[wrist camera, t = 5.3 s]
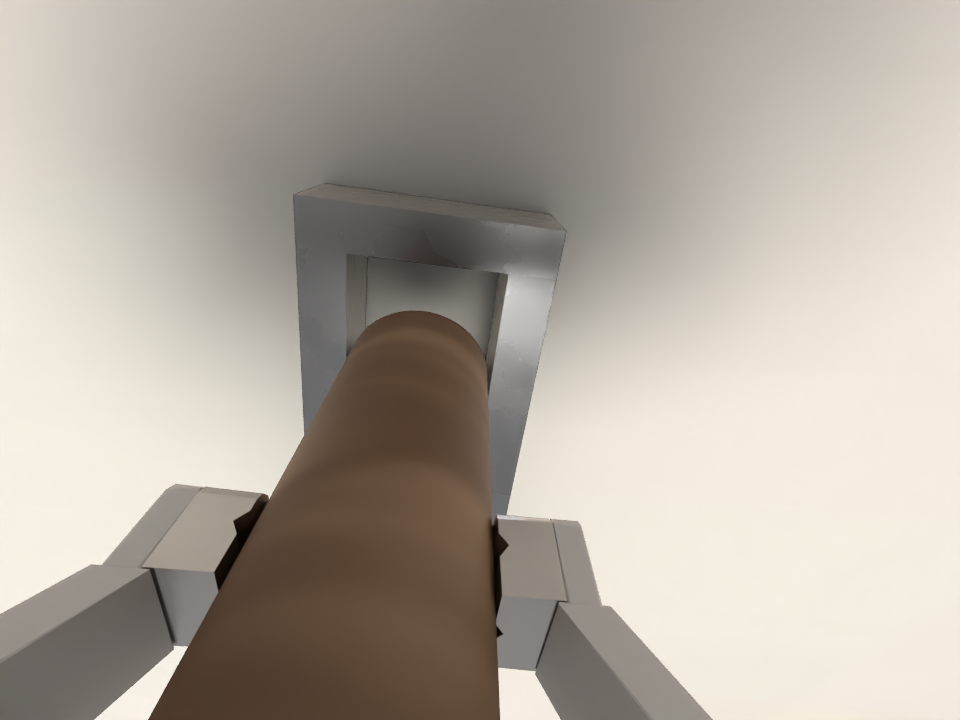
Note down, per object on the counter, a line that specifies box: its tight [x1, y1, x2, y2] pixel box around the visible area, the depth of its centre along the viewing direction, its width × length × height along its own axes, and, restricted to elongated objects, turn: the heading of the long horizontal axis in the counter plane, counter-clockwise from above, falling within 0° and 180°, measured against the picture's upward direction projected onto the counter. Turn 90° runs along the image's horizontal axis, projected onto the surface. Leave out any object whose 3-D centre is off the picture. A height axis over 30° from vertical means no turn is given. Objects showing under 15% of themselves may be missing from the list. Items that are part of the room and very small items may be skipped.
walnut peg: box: [148, 311, 500, 720], centre depth 8 cm, size 4×4×12 cm
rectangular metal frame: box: [293, 184, 567, 522], centre depth 23 cm, size 29×9×4 cm, turn 172°
